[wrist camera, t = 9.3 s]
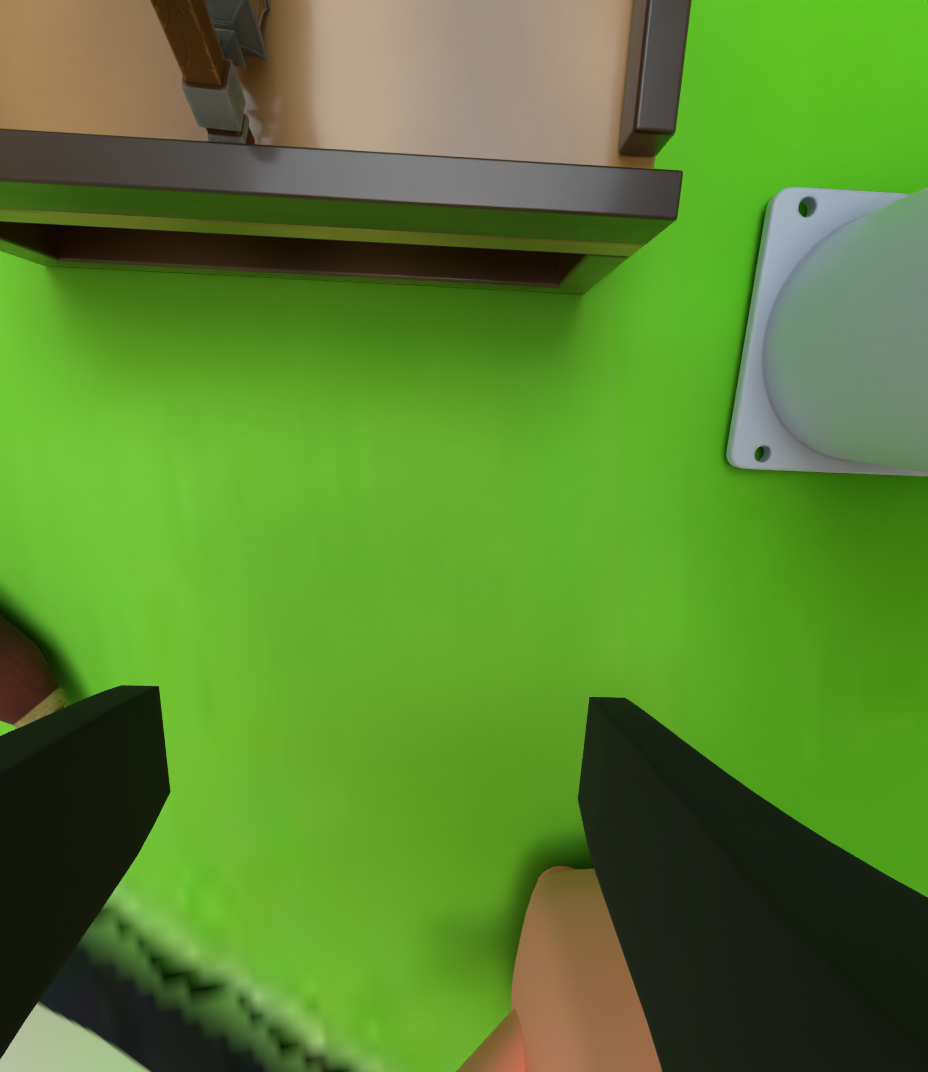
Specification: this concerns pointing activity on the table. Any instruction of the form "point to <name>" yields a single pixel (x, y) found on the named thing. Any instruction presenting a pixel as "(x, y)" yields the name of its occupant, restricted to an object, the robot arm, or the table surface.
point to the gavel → (25, 679)
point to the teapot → (569, 989)
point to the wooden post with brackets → (214, 58)
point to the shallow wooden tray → (348, 142)
